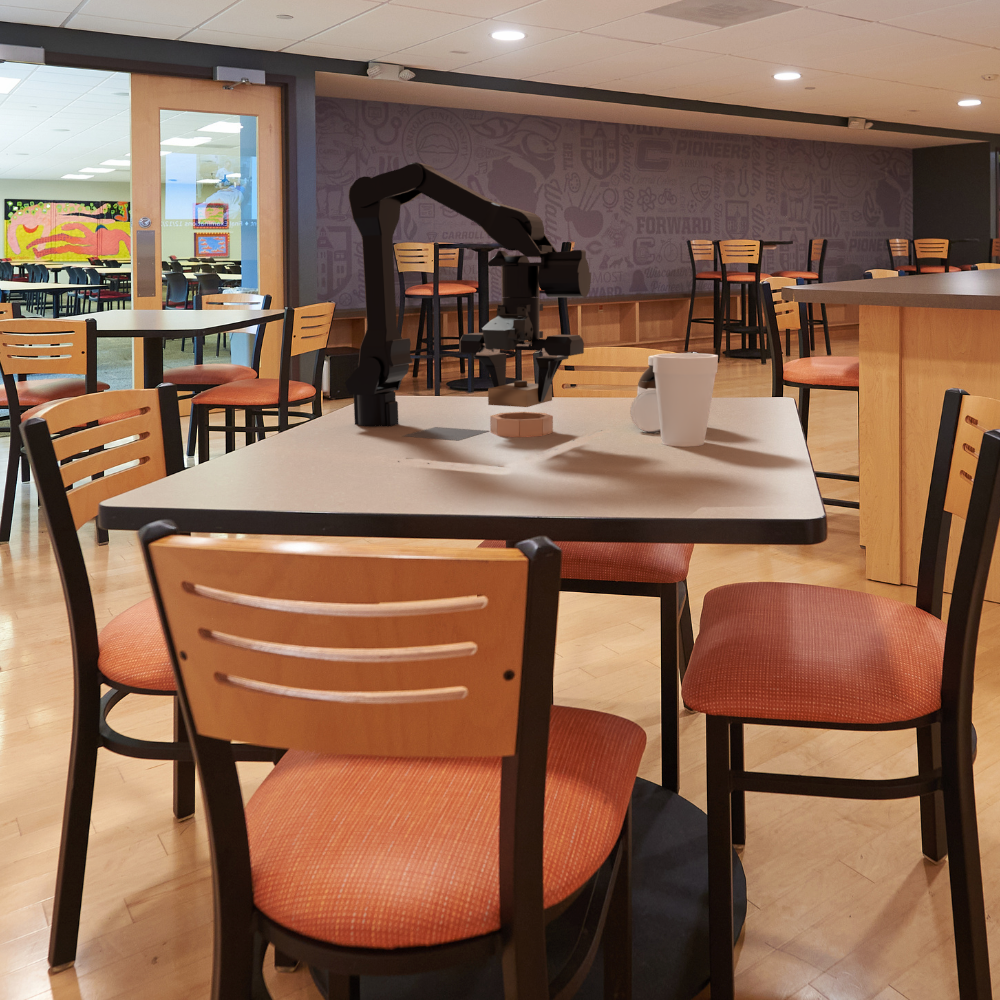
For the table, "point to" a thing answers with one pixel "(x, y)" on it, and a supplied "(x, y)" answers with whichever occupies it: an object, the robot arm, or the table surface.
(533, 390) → the lid
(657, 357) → the foam cup
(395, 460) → the table surface
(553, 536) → the table surface
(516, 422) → the bowl
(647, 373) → the spread jar
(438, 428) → the mat
